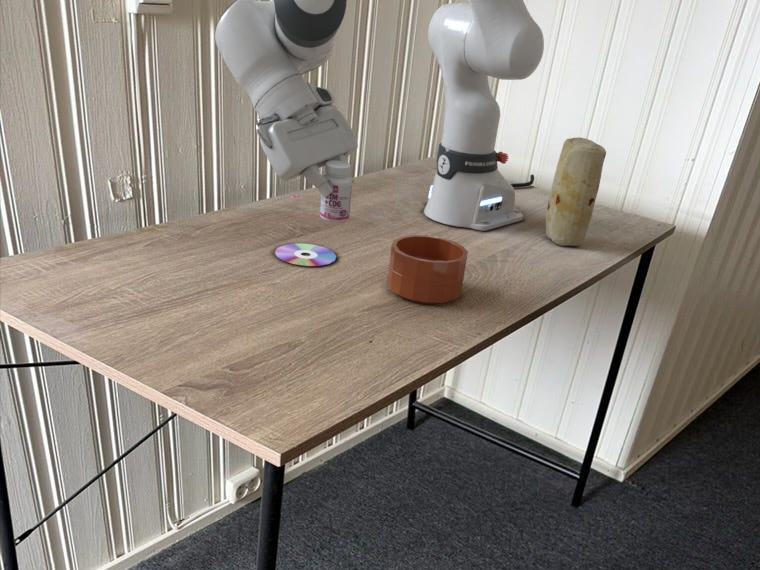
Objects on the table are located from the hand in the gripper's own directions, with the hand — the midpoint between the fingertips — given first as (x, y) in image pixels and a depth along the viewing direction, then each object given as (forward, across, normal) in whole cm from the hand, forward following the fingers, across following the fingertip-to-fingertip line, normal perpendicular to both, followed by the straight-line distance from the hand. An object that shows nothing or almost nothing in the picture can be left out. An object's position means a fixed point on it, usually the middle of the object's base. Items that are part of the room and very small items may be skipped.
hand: (340, 189), depth 130 cm
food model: (+29, +54, -5) cm, 61 cm away
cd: (+4, +10, +20) cm, 22 cm away
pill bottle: (+3, 0, +4) cm, 5 cm away
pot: (+20, +10, +3) cm, 23 cm away
